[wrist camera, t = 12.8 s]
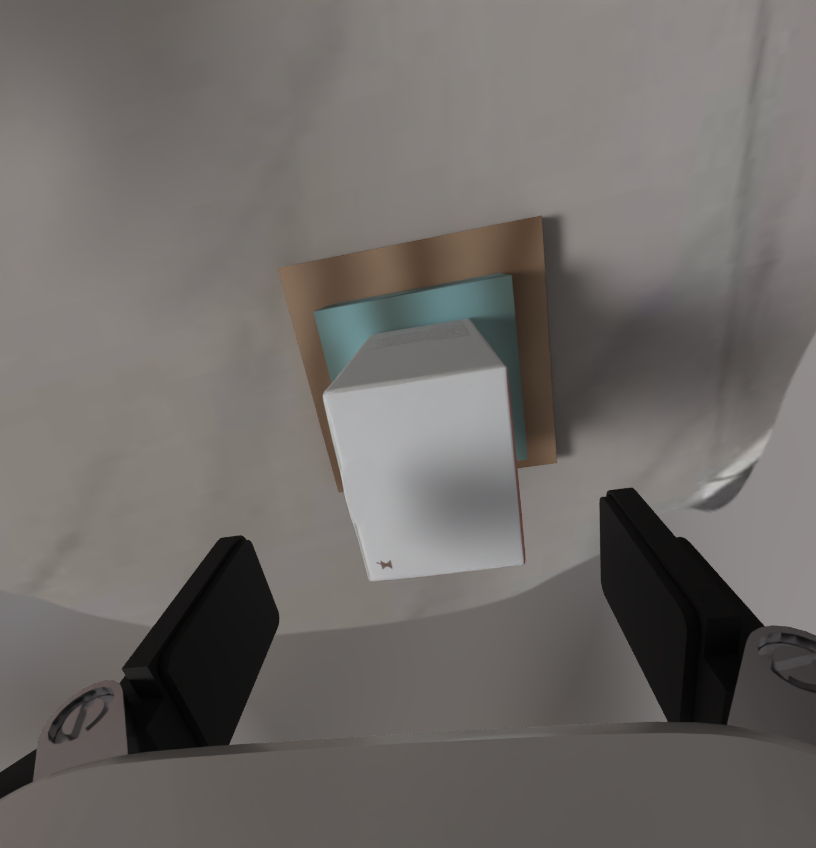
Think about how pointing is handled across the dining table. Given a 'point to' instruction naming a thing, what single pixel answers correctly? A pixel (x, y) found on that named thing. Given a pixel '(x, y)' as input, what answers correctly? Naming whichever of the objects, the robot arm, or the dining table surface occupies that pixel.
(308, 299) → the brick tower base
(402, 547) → the small box
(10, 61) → the dining table surface
